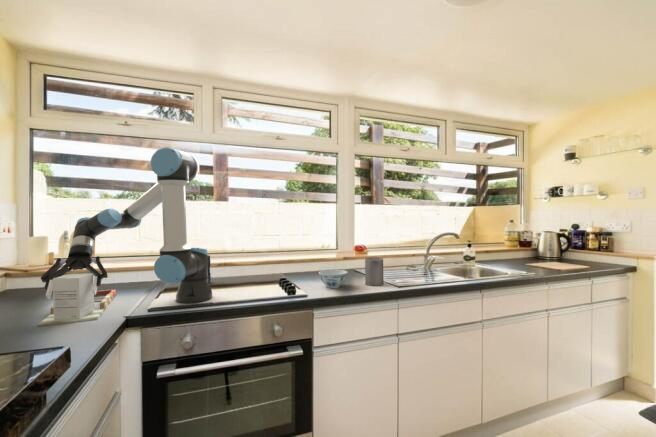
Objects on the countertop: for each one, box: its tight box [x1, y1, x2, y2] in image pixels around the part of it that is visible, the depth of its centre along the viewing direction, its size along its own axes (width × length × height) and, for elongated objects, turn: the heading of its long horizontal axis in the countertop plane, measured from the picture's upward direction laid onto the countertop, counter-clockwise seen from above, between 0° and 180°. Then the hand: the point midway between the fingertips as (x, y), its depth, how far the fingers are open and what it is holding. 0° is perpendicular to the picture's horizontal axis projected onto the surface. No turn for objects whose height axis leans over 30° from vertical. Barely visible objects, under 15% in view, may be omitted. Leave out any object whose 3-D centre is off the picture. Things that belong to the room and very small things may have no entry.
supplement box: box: [52, 272, 95, 319], centre depth 121 cm, size 9×9×15 cm
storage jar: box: [208, 254, 212, 285], centre depth 178 cm, size 10×10×15 cm
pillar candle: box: [364, 256, 385, 287], centre depth 174 cm, size 10×10×15 cm
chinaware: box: [318, 268, 349, 289], centre depth 169 cm, size 15×15×8 cm
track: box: [38, 288, 117, 327], centre depth 134 cm, size 40×17×3 cm, turn 25°
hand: (71, 295), depth 119 cm, fingers open, 13 cm apart
